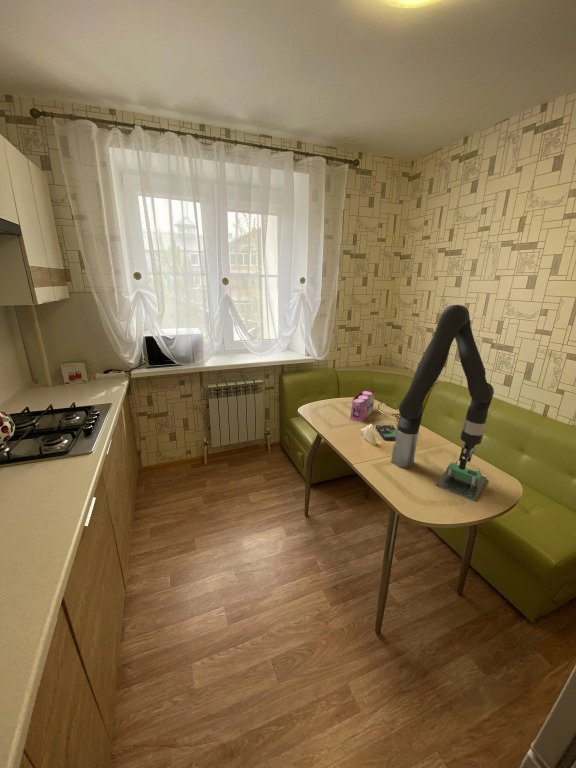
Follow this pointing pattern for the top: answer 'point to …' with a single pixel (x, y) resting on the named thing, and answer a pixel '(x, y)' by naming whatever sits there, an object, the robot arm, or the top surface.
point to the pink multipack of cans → (362, 405)
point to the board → (464, 473)
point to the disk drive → (387, 432)
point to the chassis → (461, 485)
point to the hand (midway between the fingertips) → (464, 464)
